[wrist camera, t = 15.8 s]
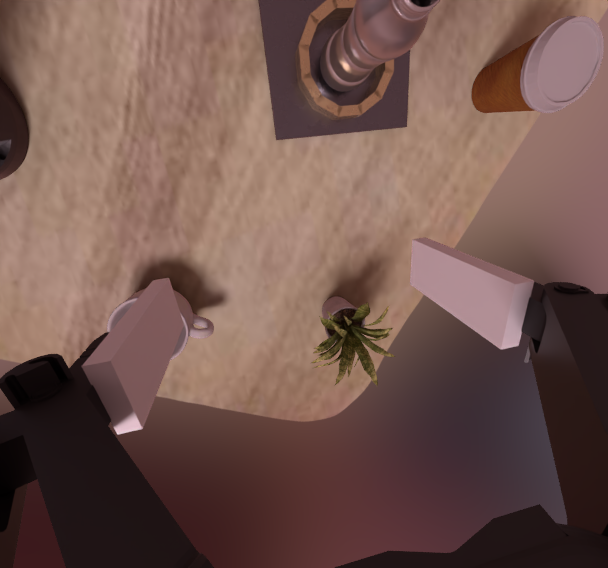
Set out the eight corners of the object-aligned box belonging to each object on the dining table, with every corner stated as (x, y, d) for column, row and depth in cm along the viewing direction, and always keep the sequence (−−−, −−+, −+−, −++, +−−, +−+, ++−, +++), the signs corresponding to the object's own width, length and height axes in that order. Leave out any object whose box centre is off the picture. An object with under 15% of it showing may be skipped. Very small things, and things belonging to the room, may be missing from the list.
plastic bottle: (316, 35, 36) (386, -96, 18) (366, 39, 38) (477, -80, 19) (315, 94, 39) (376, 30, 21) (362, 96, 40) (457, 37, 22)
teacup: (122, 328, 47) (100, 357, 40) (134, 270, 44) (111, 290, 37) (207, 344, 51) (200, 374, 44) (223, 292, 48) (219, 315, 41)
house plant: (308, 260, 49) (335, 301, 34) (379, 273, 52) (431, 315, 37) (290, 331, 53) (306, 393, 39) (356, 338, 57) (394, 398, 42)
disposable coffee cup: (486, 137, 46) (559, 128, 35) (450, 97, 43) (519, 73, 32) (528, 81, 44) (620, 54, 33) (493, 34, 41) (583, -14, 30)
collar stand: (276, 140, 41) (278, 137, 37) (257, -7, 34) (258, -25, 31) (404, 127, 43) (417, 123, 40) (409, -11, 37) (425, -29, 34)
